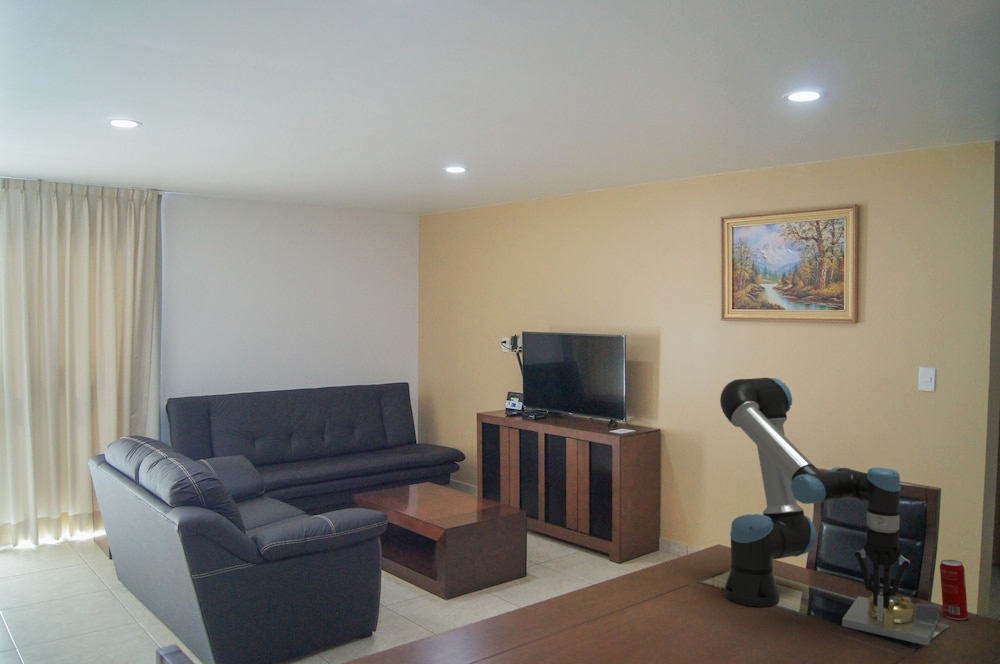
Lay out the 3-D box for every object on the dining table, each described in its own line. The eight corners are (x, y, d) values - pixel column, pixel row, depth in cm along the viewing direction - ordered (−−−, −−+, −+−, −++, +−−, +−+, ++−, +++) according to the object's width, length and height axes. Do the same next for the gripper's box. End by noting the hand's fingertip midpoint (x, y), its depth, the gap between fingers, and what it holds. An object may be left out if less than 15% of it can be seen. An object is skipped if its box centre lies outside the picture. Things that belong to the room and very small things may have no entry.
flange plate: (842, 626, 195) (842, 605, 195) (858, 603, 211) (858, 584, 211) (930, 646, 182) (930, 624, 182) (940, 620, 198) (940, 600, 198)
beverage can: (971, 621, 197) (971, 566, 197) (944, 619, 198) (945, 564, 198) (962, 613, 203) (962, 559, 203) (936, 611, 204) (936, 558, 204)
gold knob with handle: (869, 603, 204) (869, 588, 204) (915, 611, 198) (915, 595, 198) (864, 624, 190) (864, 607, 190) (913, 633, 184) (913, 616, 184)
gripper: (852, 527, 190) (850, 617, 191) (908, 536, 183) (906, 630, 183) (859, 521, 196) (857, 608, 197) (913, 530, 189) (911, 621, 189)
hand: (881, 619), depth 190 cm, fingers closed
